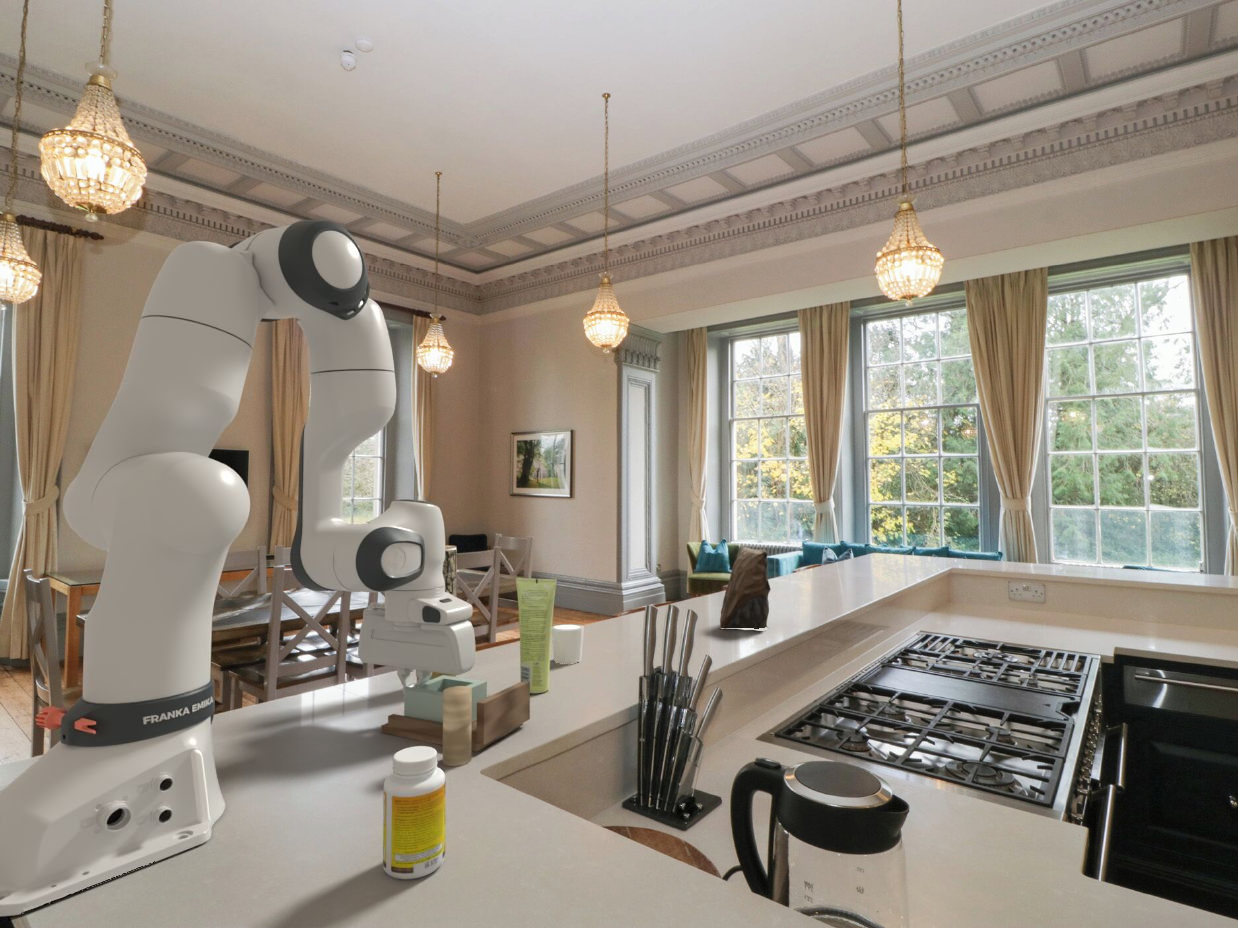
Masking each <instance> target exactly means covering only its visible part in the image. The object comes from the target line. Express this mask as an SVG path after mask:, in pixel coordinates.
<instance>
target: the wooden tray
mask: <svg viewBox="0 0 1238 928" xmlns="http://www.w3.org/2000/svg"><path fill="white" fill-rule="evenodd" d="M530 705H531V693H530V682H529V681H521V680H520V681H519V682H517V683H514V684H513V685H510V686H509V687H507V688H504V689H502V690H501V691H497V692H496V693H494V694H491V695H490V696H487V698H485V699H483V700H481V701H479V702H477V720H476V721H474V722H472V723H471V752H478V751H481V750H482V749H484V748H485V747H486V746H488V745H491V744H492V743H494V742H495V741H497V740H499V739H501V738H502V737H504V736H506V735H508V734H509V733H511V732H513V731H515V730H516V729H518V728H521V727H522V726H523V725H524V723H525V722H527V721H530V719H531V711H530V710H531V706H530ZM380 727H381V728H380V731H381V732H380V733H382V734H387V735H392V736H397V737H402V738H407V739H413V740H415V741H416V740H417V741H422V742H427V743H432V744H438V745H441V746H443V723H441V722H435V721H430V720H424V719H419V718H413V717H408V716H404V715H403V714H402V715H401V714H396V713H392V714H390V715H388V716H387V723H384V724H382V725H380Z"/></svg>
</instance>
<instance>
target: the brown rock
mask: <svg viewBox="0 0 1238 928" xmlns="http://www.w3.org/2000/svg"><path fill="white" fill-rule="evenodd" d="M768 562H769V561H768V551H767V550H766V549H764V548H763V549H756V548H755V549H754V548H750V547H749V546H747V547H746V546H742V547H741V549H740V551H739V553H738V556H737V558H736V560H735V561H734V564H733V565H732V568H731V572H730V576H729V580H728V582H727V586H726V590H725V593H724V597H723V602H722V608H721V610H720V619H719V624H720V625H719V626H720V627H721V628H754V629H759V628H765V627H767V628H768V625H767V623H768V617H769V614H770V613H769V612H770V606H769V604H770V602H769V599H768V598H769V593H771V586H770V583H769V577H768V573H769V572H768V565H769V564H768ZM720 627H719V628H720Z"/></svg>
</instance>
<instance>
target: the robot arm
mask: <svg viewBox="0 0 1238 928" xmlns="http://www.w3.org/2000/svg"><path fill="white" fill-rule="evenodd" d="M368 271H369V270H368V267H367V263H366V259H365V257H364V254H363V252H362V249H361V247H360V245H359V243H358V242H357V240H356V239H355V238H354V236H353V234H351V233H350V232H349V231H348V230H347V229H346V228H345V227H343V226H342V225H340V224H338V223H336V222H333V221H329V220H324V219H304V220H299V221H296V222H294V223H291V224H289V225H288V224H287V225H283V226H279V227H275V228H268V229H265V230H262V231H259V232H257V233H255V234H252V235H251V236H249V237H247V238H245V239H243V240H238V241H237V242H234V243H232V244H230V245H229V246H226V245H223V244H220V243H217V242H212V241H206V240H205V241H202V240H193V241H188V242H187V241H186V242H183V243H181V244H179V245H178V246H176V247H175V248H173V250H171V252H170V253H169V255H168V256H167V257H166V259H165V261H164V262H163V265H162V266H161V268H160V270H159V272H158V274H157V276H156V277H155V279H154V282H153V284H152V287H151V289H150V291H149V293H148V296H147V299H146V301H145V304H144V307H143V310H142V314H141V316H140V319H139V323H138V326H137V329H136V334H135V336H134V340H133V344H132V347H131V351H130V353H129V357H128V360H127V364H126V367H125V370H124V374H123V376H122V379H121V382H120V386H119V389H118V391H117V393H116V395H115V398H114V400H113V402H112V405H111V406H110V409H109V410H108V412H107V414H106V416H105V418H104V420H103V422H102V423H101V426H100V427H99V429H98V431H97V433H96V435H95V438H94V439H93V442H92V444H91V445H90V447H89V450H88V452H87V453H86V454H87V455H86V456H85V458H84V462H83V463H82V466H81V467H80V470H79V471H78V473H77V475H76V476H75V478H74V479H72V481H71V482H70V484H69V485H68V487H67V489H66V491H65V493H64V496H63V500H62V512H63V516H64V518H65V520H66V523H67V524H68V526H69V527H70V529H71V530H72V531H73V532H74V533H75V534H76V536H78V537H79V538H81V539H82V540H83V541H84V542H86V543H87V544H89V545H90V546H92V547H94V548H95V549H98V550H101V551H104V552H107V553H106V558H105V559H106V560H105V564H104V570H103V573H102V577H101V581H100V585H99V588H98V591H97V594H96V598H95V600H94V603H93V605H92V607H91V609H90V610H89V612H88V613H87V615H86V616H85V617H86V618H85V621H84V627H83V628H84V629H83V632H84V633H83V638H84V639H83V662H82V663H83V665H82V666H83V667H82V669H83V670H82V671H83V672H82V695H81V696H80V697H78V698H77V701H76V702H75V703H74V705H72V707H71V708H69V709H68V710H67V709H65V708H62V707H58V706H54V705H49V706H45V707H43V708H41V709H40V710H39V712H40V713H37V714H36V716H35V717H36V718H35V719H34V720H35V721H36V722H35V724H36V725H37V726H38V727H39V728H44V729H48V730H54V731H55V730H58V729H60V734H59V735H60V736H59V741H58V742H57V743H55V745H53V746H52V747H51V748H50V749H49V750H48V751H47V752H45V753H44V754H43V755H42V756H40V758H38V759H37V760H36V761H34V763H33V764H31V765H30V766H29V767H28V768H27V769H26V770H24V771H23V772H22V773H21V774H20V775H19V776H17V777H16V778H15V779H14V780H12V782H10V783H9V784H7V785H6V786H5V787H4V788H2V790H0V917H10V916H19V915H22V914H21V912H22V910H23V908H27V907H30V906H35V905H38V904H42V903H43V902H48V901H49V900H52V899H53V898H56V897H58V896H61V895H64V894H65V893H70V892H71V891H75V890H76V889H81V888H82V887H87V886H88V885H92V884H94V883H95V884H96V883H98V882H101V881H105V880H107V879H110V880H112V879H111V878H112V877H115V878H117V877H116V876H118V875H120V876H123V875H124V874H123V873H126V874H128V873H127V871H131V870H132V869H136V868H137V867H141V866H143V867H146V866H148V865H150V864H149V863H151V864H153V862H154V861H155V862H158V861H162V860H163V859H166V858H169V857H171V856H174V855H176V854H179V853H182V852H184V851H186V850H188V849H191V848H194V847H197V846H200V845H202V844H204V843H206V842H207V841H209V840H210V838H211V837H212V834H213V833H212V832H213V825H214V824H215V822H216V821H217V820H218V819H219V818H220V817H221V816H222V815H223V813H224V812H225V809H226V801H225V798H224V797H223V793H222V791H221V787H220V783H219V779H218V774H217V768H216V764H215V756H214V747H213V739H212V738H213V735H212V724H213V721H214V716H215V711H216V709H215V708H216V706H215V703H216V702H215V701H216V696H215V695H216V691H215V690H216V687H215V685H216V684H215V680H214V678H213V677H212V676H211V666H212V665H211V660H212V635H213V634H212V633H213V631H212V630H213V613H214V605H215V601H216V597H217V590H218V587H219V584H220V580H221V576H222V574H223V569H224V566H225V562H226V559H227V556H228V554H229V549H230V547H231V546H232V544H233V542H234V541H235V540H236V539H237V538H238V537H239V535H240V534H241V533H242V531H243V529H245V526H246V524H247V522H248V519H249V517H250V516H249V515H250V510H251V499H250V498H251V497H250V493H249V489H248V487H247V484H246V483H245V481H244V480H243V478H242V477H241V476H240V475H239V474H238V472H236V471H235V470H234V469H233V468H231V467H230V466H228V465H227V464H225V463H222V462H220V461H218V460H215V459H213V458H210V457H209V456H210V454H211V453H212V451H213V448H214V447H215V445H216V443H217V441H218V440H219V439H220V436H221V435H222V434H223V432H224V431H225V430H226V428H227V427H229V425H231V423H232V422H233V420H234V419H235V417H236V416H237V414H238V411H239V408H240V404H241V399H242V395H243V391H244V387H245V383H246V379H247V375H248V371H249V368H250V363H251V359H252V355H253V350H254V346H255V341H256V337H257V330H258V328H259V325H260V324H261V323H270V322H271V323H272V322H276V321H280V320H285V319H288V320H289V319H297V321H296V323H297V325H298V326H299V327H300V328H301V331H302V332H303V335H304V336H305V339H306V342H307V346H308V364H309V365H308V367H309V378H310V379H309V380H310V397H309V407H308V412H307V413H308V415H307V419H306V421H305V423H304V426H303V428H302V431H301V435H300V440H299V441H300V442H299V457H298V458H299V459H298V491H297V493H298V494H297V495H298V497H297V502H298V503H297V520H296V525H295V531H294V536H293V538H292V542H291V545H290V546H291V547H290V552H289V561H290V568H291V571H292V574H293V575H294V577H295V578H296V580H297V581H298V583H299V584H300V585H302V586H303V587H305V588H306V589H308V590H311V591H314V592H330V591H331V592H333V591H343V592H355V593H359V592H360V593H372V594H373V593H376V594H377V593H382V592H384V603H381V602H377V601H376V602H370V604H369V605H367V606H366V607H365V608H364V610H363V612H362V622H361V626H360V631H359V638H358V645H357V646H358V648H357V650H358V651H357V655H358V657H359V659H360V662H362V663H363V664H371V665H378V666H379V665H380V666H386V667H393V668H396V669H397V670H396V674H397V677H398V679H399V680H400V682H401V686H402V687H403V688H402V691H403V697H404V690H405V689H408V688H411V687H413V686H416V685H419V684H421V683H424V682H427V681H429V679H430V678H431V676H432V672H436V673H443V674H451V675H456V676H460V675H463V674H465V673H468V672H470V671H472V669H473V667H474V665H475V664H476V639H475V637H476V635H475V634H476V633H475V629H474V627H473V624H472V622H471V621H470V620H468V619H470V618H472V616H473V612H474V611H473V610H474V608H473V605H472V604H470V603H469V602H467V601H465V600H463V599H461V598H459V597H458V596H457V597H455V596H453V595H451V594H450V593H448V592H445V580H444V577H443V563H444V560H445V545H446V534H445V533H446V531H445V523H444V518H443V513H442V510H441V508H440V507H439V506H437V504H435V503H432V502H429V501H425V500H417V499H396V500H393V501H391V503H390V504H389V507H388V508H387V509H386V510H385V511H384V512H383V513H381V514H380V515H379V516H377V517H374V518H373V519H371V520H368V521H366V523H358V524H357V523H354V524H353V523H347V521H346V520H345V517H344V512H343V511H344V510H343V508H344V506H343V505H344V482H345V481H344V479H345V477H344V476H345V474H344V473H345V467H346V463H347V461H348V459H349V457H350V455H351V454H352V452H353V451H354V450H356V448H357V447H359V446H360V445H361V444H363V443H364V442H365V441H367V440H369V439H370V438H372V437H373V436H375V435H376V434H378V433H379V432H380V431H382V430H383V429H384V428H385V426H387V424H388V423H389V422H390V421H391V419H392V417H393V416H394V414H395V409H396V404H397V403H396V402H397V384H396V382H397V381H396V374H395V372H396V371H395V362H394V357H393V348H392V345H391V339H390V335H389V330H388V327H387V323H386V319H385V316H384V312H383V310H382V309H381V307H380V305H379V304H378V303H377V302H376V301H375V300H373V299H372V298H370V297H369V296H370V293H371V292H370V291H371V285H370V284H371V283H370V280H369V273H368ZM260 322H261V323H260ZM414 671H415V677H416V678H417V677H419V678H418V680H417V679H416V683H415V680H414V677H413V675H412V674H413V673H412V672H414ZM155 862H154V863H155ZM145 865H146V866H145ZM141 868H142V867H141ZM136 870H137V869H136ZM131 872H132V871H131ZM122 874H123V875H122ZM118 877H119V876H118ZM105 882H106V881H105Z"/></svg>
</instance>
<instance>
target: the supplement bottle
mask: <svg viewBox="0 0 1238 928" xmlns="http://www.w3.org/2000/svg"><path fill="white" fill-rule="evenodd" d="M437 760H438V752H437V750H436V749H435V748H434V747H432V746H425V745H417V746H416V745H415V746H410V747H406V748H403V749H401V750H398V751H397V752H395V753H394V755H393V756H392V772H391V773H390V774H389V775H388V776H387V777H386V778H385V780H384V782H383V790H382V791H383V794H382V795H383V804H382V805H383V810H382V812H383V813H382V814H383V815H382V817H383V819H382V820H383V821H382V822H383V823H382V825H383V826H382V830H383V831H382V864H383V865H382V866H383V869H384V871H385V873H386V874H387V875H389V877H390V876H391V877H392V878H394V879H399V880H414V879H419V878H422V877H425V876H428V875H430V874H431V873H432V874H433V872H435V871H436V870H437V869H439V868H440V866H441V865H443V862H444V860H445V857H446V774H445V772H444V771H443V770H442V769H441V768H440V767H438V761H437Z"/></svg>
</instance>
